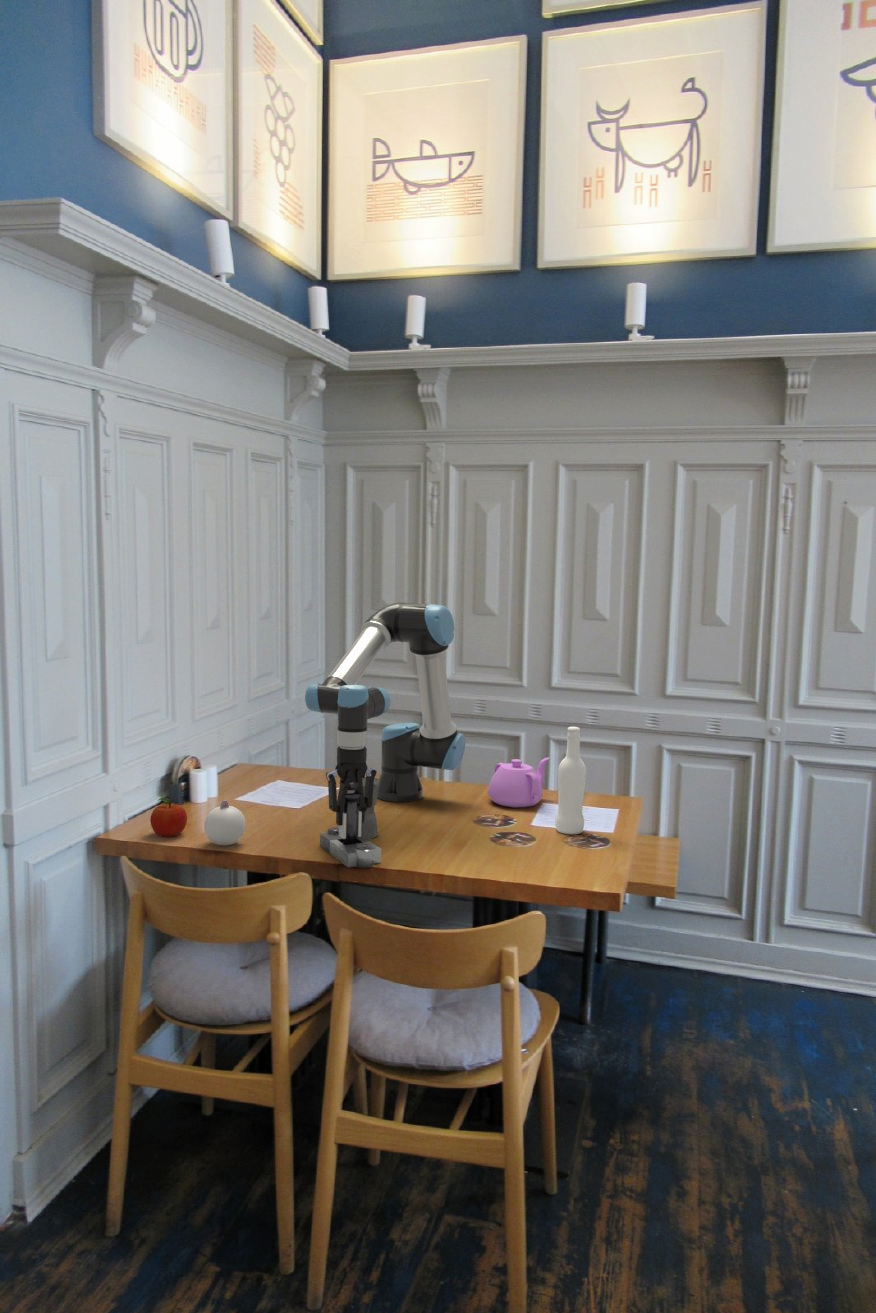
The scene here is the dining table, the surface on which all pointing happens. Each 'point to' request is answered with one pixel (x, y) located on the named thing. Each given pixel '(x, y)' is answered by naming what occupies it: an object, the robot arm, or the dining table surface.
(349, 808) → the pin
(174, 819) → the fruit
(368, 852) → the grey slotted block
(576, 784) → the bottle
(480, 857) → the dining table surface
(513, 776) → the teapot
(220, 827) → the ornament
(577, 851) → the dining table surface
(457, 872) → the dining table surface
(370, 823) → the coffeepot
